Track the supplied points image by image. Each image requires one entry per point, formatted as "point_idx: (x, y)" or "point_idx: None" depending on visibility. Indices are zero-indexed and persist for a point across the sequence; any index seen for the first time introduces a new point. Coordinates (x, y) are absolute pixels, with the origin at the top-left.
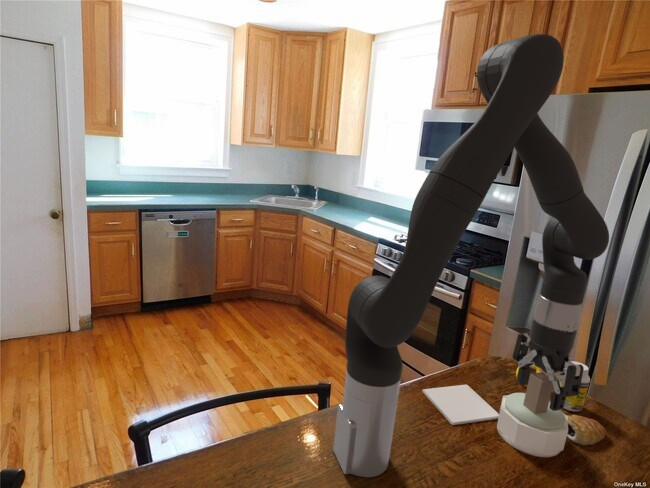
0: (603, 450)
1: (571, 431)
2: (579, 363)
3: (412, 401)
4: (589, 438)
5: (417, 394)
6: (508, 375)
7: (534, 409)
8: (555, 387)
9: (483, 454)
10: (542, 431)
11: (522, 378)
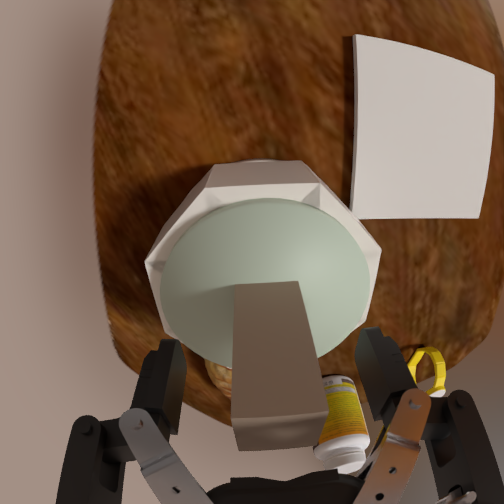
0: (193, 363)
1: None
2: (351, 471)
3: (458, 14)
4: (205, 363)
5: (481, 51)
6: (447, 337)
7: (238, 295)
8: (145, 433)
9: (205, 50)
10: (155, 252)
11: (371, 357)
